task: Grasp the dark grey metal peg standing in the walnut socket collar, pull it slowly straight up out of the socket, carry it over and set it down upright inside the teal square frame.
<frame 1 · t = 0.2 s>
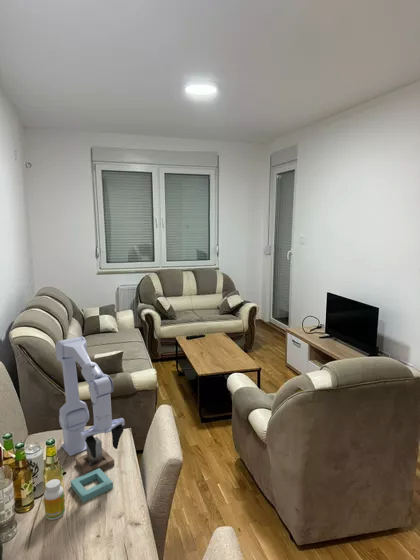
hand: (104, 452, 125), 10 cm above the table, tool pointing down, fingers open, 7 cm apart
peg: (94, 452, 135), in the socket block
teal square frame: (91, 487, 123), on the table
supplement bottle: (55, 514, 112), on the table
socket block: (95, 464, 135), on the table
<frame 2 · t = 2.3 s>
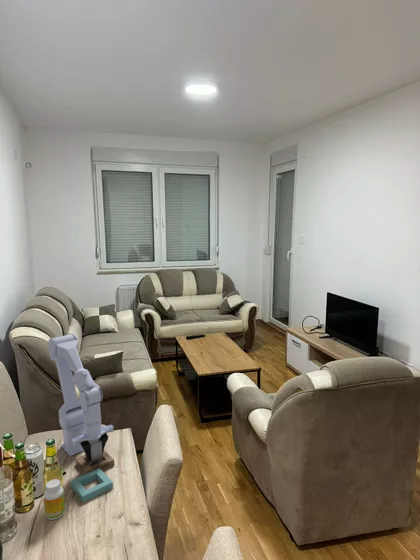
hand: (94, 456, 135), 3 cm above the table, tool pointing down, fingers closed on peg, 4 cm apart
peg: (94, 452, 135), in the socket block, touching gripper
everything else where it was.
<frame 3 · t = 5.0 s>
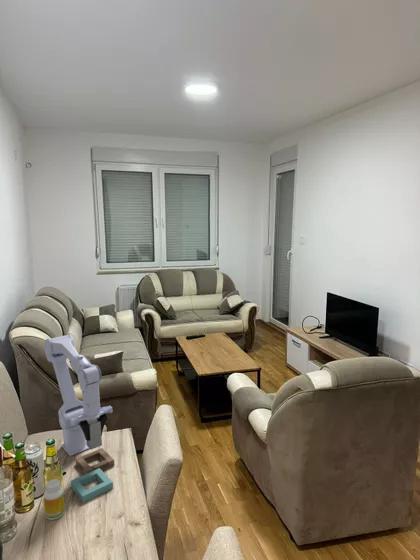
hand: (93, 437, 134), 10 cm above the table, tool pointing down, fingers closed on peg, 4 cm apart
peg: (93, 433, 134), point 12 cm above the table, touching gripper
everything else where it was.
when the fingers open (4 cm above the table, at t = 7.8 s): peg drops 2 cm, resting in teal square frame.
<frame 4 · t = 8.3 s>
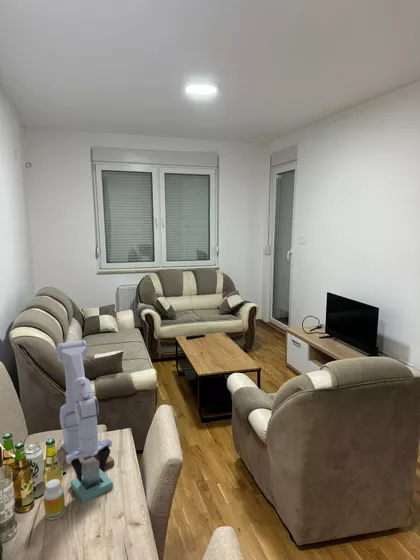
hand: (91, 474, 123), 4 cm above the table, tool pointing down, fingers open, 7 cm apart
peg: (91, 474, 123), in the teal square frame
everything else where it was.
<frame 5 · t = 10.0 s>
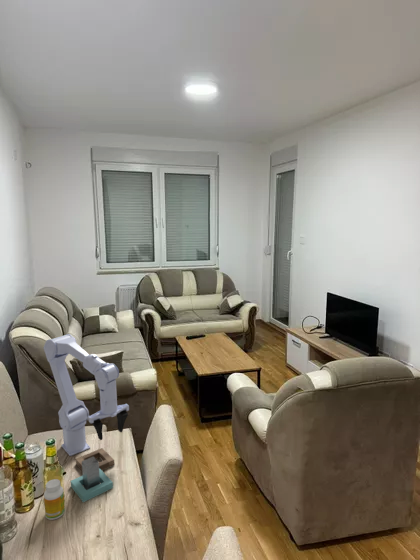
hand: (110, 435, 135), 10 cm above the table, tool pointing down, fingers open, 7 cm apart
nothing on the table moved.
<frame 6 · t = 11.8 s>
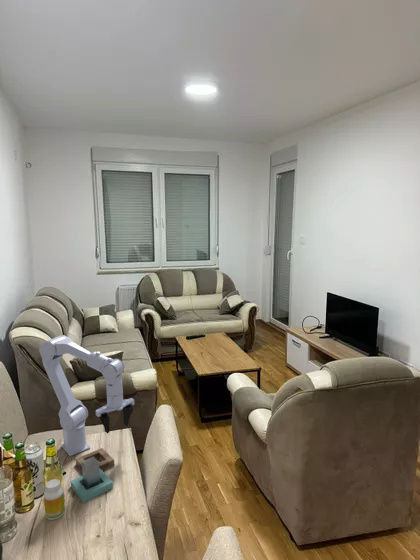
hand: (116, 428, 140), 10 cm above the table, tool pointing down, fingers open, 7 cm apart
nothing on the table moved.
at the end: peg 0.0 cm off-centre on the teal square frame, point 4.5 cm above the teal square frame's base; peg tilted 0°; the gripper is holding nothing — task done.
